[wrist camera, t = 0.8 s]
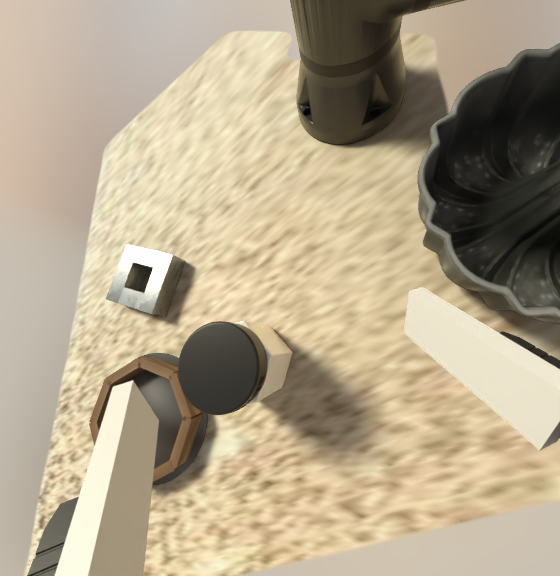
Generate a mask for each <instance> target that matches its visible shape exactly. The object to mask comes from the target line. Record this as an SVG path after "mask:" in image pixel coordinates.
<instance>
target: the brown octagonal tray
mask: <svg viewBox="0 0 560 576" xmlns="http://www.w3.org/2000/svg"><path fill="white" fill-rule="evenodd" d="M178 363H179V358H177V357H175V356H173V355H169V354H164V353H152V354H147V355H144V356H141V357H139V358H137V359H135V360H133V361H132V362H131V363H129V364H128V365H126V366H124V367H123V368H121V369H119V370H118V371H116V372H115V373H113V374H111V375H110V376H108V377H106V379H105V380H104V383H103V386H102V389H101V391H100V394H99V397H98V400H97V402H96V405H95V408H94V411H93V413H92V416H91V419H90V422H91V423H90V429H91V433H92V437H93V442H94V446H95V443H96V440H97V437H98V434H99V430H100V427H101V424H102V421H103V417H104V414H105V411H106V408H107V404H108V401H109V398H110V395H111V391H112V388H113V387H114V386H117V385H120V384H123V383H126V382H129V381H132V380H133V381H134V382H135V384H136V386H137V387H138V389H139V390H140V392H141V393H142V395H143V396H144V398H145V400H146V401H147V403H148V404H149V406H150V407H151V409H152V410H153V412H154V413H155V415H156V417H157V418H158V420H159V425H158V435H157V445H156V454H155V464H154V474H153V483H152V485H158V484H162V483H166V482H168V481H170V480H172V479H174V478H175V477H177V476H178V475H180V474H181V473H182V472H183V471H184V470H186V469H187V468H188V466H189V465H190V464H191V463H192V462H193V460H194V459H195V457H196V456H197V454H198V452H199V450H200V448H201V445H202V442H203V440H204V436H205V432H206V426H207V413H204V412H202V411H200V410H198V409H197V408H195V407H194V406H193V405H192V404H191V403H190V402H189V401H188V399H187V398H186V396H185V395H184V393H183V391H182V389H181V386H180V382H179V377H178Z"/></svg>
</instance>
